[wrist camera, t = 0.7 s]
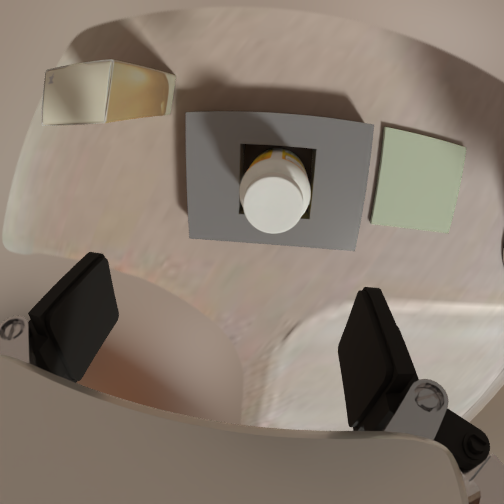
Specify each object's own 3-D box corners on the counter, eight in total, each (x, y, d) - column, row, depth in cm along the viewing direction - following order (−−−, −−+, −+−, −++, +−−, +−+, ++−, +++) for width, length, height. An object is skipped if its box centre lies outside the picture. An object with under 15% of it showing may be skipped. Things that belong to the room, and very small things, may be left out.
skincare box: (118, 113, 25) (37, 127, 15) (123, 74, 23) (41, 69, 13) (174, 115, 25) (105, 125, 15) (179, 74, 23) (112, 57, 13)
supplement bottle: (307, 149, 26) (319, 169, 17) (302, 202, 28) (311, 246, 20) (249, 146, 26) (233, 164, 18) (248, 199, 29) (232, 240, 20)
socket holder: (364, 123, 24) (374, 124, 21) (348, 238, 29) (354, 251, 27) (195, 111, 25) (185, 112, 22) (197, 226, 31) (189, 238, 28)
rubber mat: (464, 146, 23) (466, 147, 22) (446, 231, 28) (448, 233, 27) (384, 126, 24) (385, 126, 23) (370, 222, 28) (371, 224, 28)
